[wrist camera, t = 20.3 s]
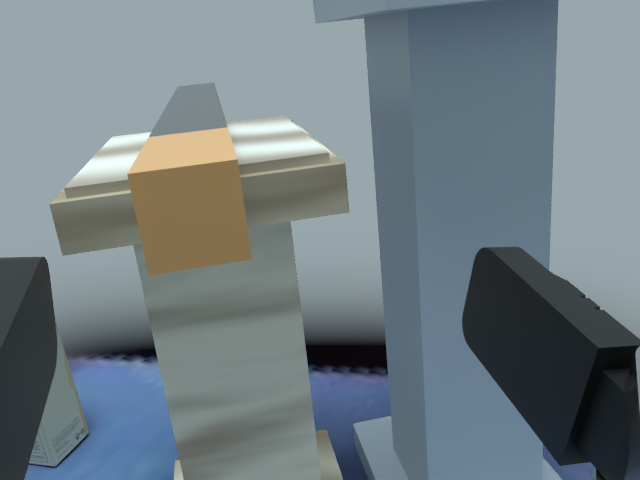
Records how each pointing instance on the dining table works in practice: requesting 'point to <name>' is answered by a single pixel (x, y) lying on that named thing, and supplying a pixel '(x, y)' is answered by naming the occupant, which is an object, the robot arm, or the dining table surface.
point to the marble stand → (227, 305)
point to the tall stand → (453, 217)
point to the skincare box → (59, 417)
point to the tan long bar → (189, 187)
